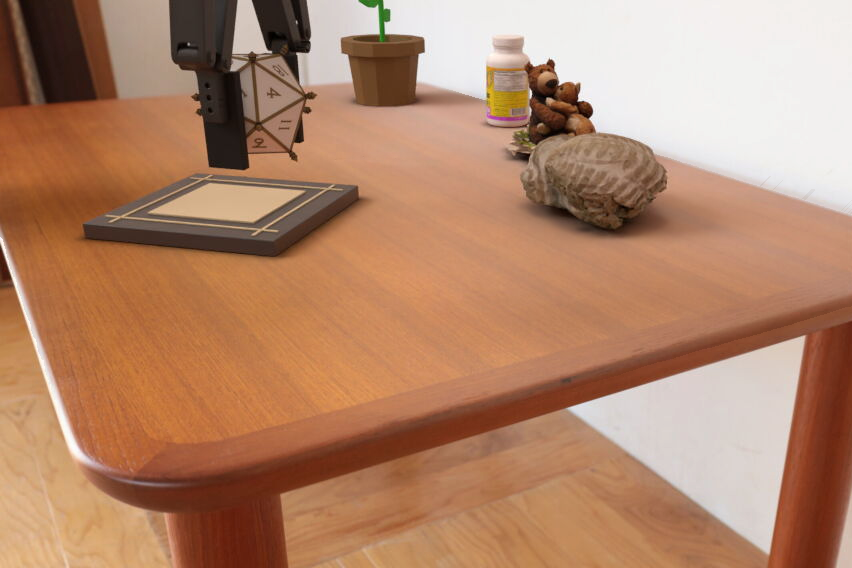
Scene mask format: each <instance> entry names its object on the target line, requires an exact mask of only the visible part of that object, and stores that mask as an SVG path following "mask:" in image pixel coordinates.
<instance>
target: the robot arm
mask: <svg viewBox="0 0 852 568" xmlns="http://www.w3.org/2000/svg"><path fill="white" fill-rule="evenodd" d="M238 3H239V1H238V0H168V12H169V39H170V40H169V41H170V57H171V60H172V62H173V64H174V65H177V66H178V67H179V69H180V70H181V71H186V72H187V71H189V72H194V73H195V77H196V80H197V81H196V82H197V88H198V94H199V98H200V101H199V105H200V109H201V114H202V115H201V117H202V123H203V132H204V138H205V146H206V155H207V156H206V157H207V163H208V164H207V165H208V168H211V169H212V168H214V169H224V170H234V171H246V170H248V169H250V168H251V167H250V160H249V159H250V158H249V154H248V148H247V138H246V129H245V119H244V110H243V100H242V90H241V81H240V72H238V71H230V69H231V62H232V54H233V50H234V43H235V42H234V41H235V30H236V21H237V11H238ZM251 3H252V6H253V9H254V13H255V16H256V19H257V22H258V26H259V29H260V32H261V35H262V39H263V42H264V45H265V48H266V50H267V51H268V52H262V53H261V54H279V53H280V49H281V46H282V47H283V46H284V45H286V44H287V50H288V52H286V54H285V55H284V59H285V60H286V62H287V64H288V65H289V67H290V69H291V70H292V72H293V74H294V75H295V77H296V79H297V80H298V82H299V84H300V85H301V81H300V80H301V79H300V70H299V56H298V55H299V54H309V53H310V51H311V49H312V48H311V47H312V43H311V38H312V27H311V21H310V14H309V6H308V1H307V0H251ZM298 53H299V54H298ZM303 142H305V133H304V122H303V116H302V117H301V121H300V124H299V128H298V131H297V134H296V138H295V141H294V144H301V143H303Z"/></svg>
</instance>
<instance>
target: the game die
mask: <svg viewBox="0 0 852 568" xmlns="http://www.w3.org/2000/svg"><path fill="white" fill-rule="evenodd" d="M286 52H288V50H287V44H286V45H284V46H283V47H282V46H281V49H280V53H279V54H262V53H255V52H254V51H253V50H251V51H250V52H249V53H232V62H231V69H230V71H238V72H240V81H241V90H242V100H243V110H244V119H245V129H246V138H247V148H248V155H264V154H265V155H266V154H288V155H289V158H290V160H291V161H294V162H296V163H299V161H298V154H296V152H294V151H293V147H294V144H295V143H294V141H295V138H296V134H297V131H298V128H299V124H300V121H301V117H302V118H303V114H307V115H309V114H310V113H311V112H313V109H311V107H310V106H306V104H307V100H315V99H316V98H317V97H318V94H316V93H315V92H313V91H312V90H311V91H308V92H307V93H306V92H305V90H304V88H303V87H302V85H301V83H300V84H299V82H298V80H297V79H296V77H295V75H294V74H293V72H292V70H291V69H290V67H289V65H288V64H287V62H286V60H285V59H284V55H285V54H286ZM190 98H192V100H193V102H200V98H199V93H197V92H195V93H194V94H193V95H191V96H190ZM194 114H196V115H198V116H199V117H202V114H201V107H199V108H196V110H195V112H194Z"/></svg>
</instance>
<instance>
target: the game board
mask: <svg viewBox="0 0 852 568" xmlns="http://www.w3.org/2000/svg"><path fill="white" fill-rule="evenodd" d="M359 196H360V195H359V185H356V184H355V185H354V184H342V183H331V182H329V183H328V182H319V181H304V180H293V179H291V180H289V179H278V178H277V179H276V178H266V177H265V178H264V177H253V176H252V177H251V176H239V175H226V174H213V173H202V172H200V173H199V172H196V173H193V174H191V175H189V176H186V177H184V178H182V179H180V180H177V181H175V182H173V183H171V184H168V185H166V186H164V187H162V188H160V189H157V190H155V191H153V192H150V193H149V194H146V195H143V196H141V197H139V198H136V199H135V200H132V201H130V202H128V203H126V204H123V205H121V206H119V207H117V208H116V207H115V208H114V209H112V210H109V211H107V212H105V213H103V214H100V215H98V216H96V217H93V218H92V219H89V220H87V221H85V222H83V223H82V230H83V233H84V238H85V239H90V240H91V239H92V240H101V241H112V242H122V243H123V242H124V243H133V244H143V245H152V246H153V245H154V246H164V247H173V248H182V249H183V248H184V249H193V250H194V249H196V250H205V251H214V252H226V253H237V254H245V255H246V254H247V255H255V256H256V255H257V256H266V257H276V256H278V255H279V254H281V253H282V252H284V251H285V250H286V249H287V248H290V247H291V246H292V245H294V244H295V243H297V242H298V241H300V240H301V239H303V238H304V237H305V236H307V235H308V234H309V233H311V232H312V231H314V230H315V229H317V228H318V227H320V226H321V225H323V224H324V223H325V222H327V221H328V220H330V219H331V218H334V216H335V215H337V214H339V213H340V212H342V211H343V210H345V209H346V208H347V207H349V206H350V205H352V204H353V203H354V202H357V200H359V199H360V197H359Z"/></svg>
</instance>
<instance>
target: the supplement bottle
mask: <svg viewBox="0 0 852 568" xmlns="http://www.w3.org/2000/svg"><path fill="white" fill-rule="evenodd" d="M492 46H493V52H492V53H491V54H489V55H488V56H487V58H486V60H485V61H486V62H485V68H486V69H485V70H486V71H485V73H486V75H485V79H486V82H485V83H486V88H485V91H486V95H485V97H486V105H485V106H486V107H485V109H486V122H487V123H488V124H489V125H491V126H493V127H498V128H516V127H517V128H519V127H523V126H525V125H526V126H527V125H528V124H529V123H530V116H531V112H530V111H531V108H530V105H529V104H530V103H529V100H530V99H531V89H530V88H529V83H528V74H527V72H526V71H525V68H524V66H525V65H526V64H527V63H528V62H529V61H530V62H531V59H530V57H529V56H528V54H526V53H525V52H524V51H523V50H524V49H523V48H524V46H525V36H524V35H518V34H497V35H493V36H492Z"/></svg>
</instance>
